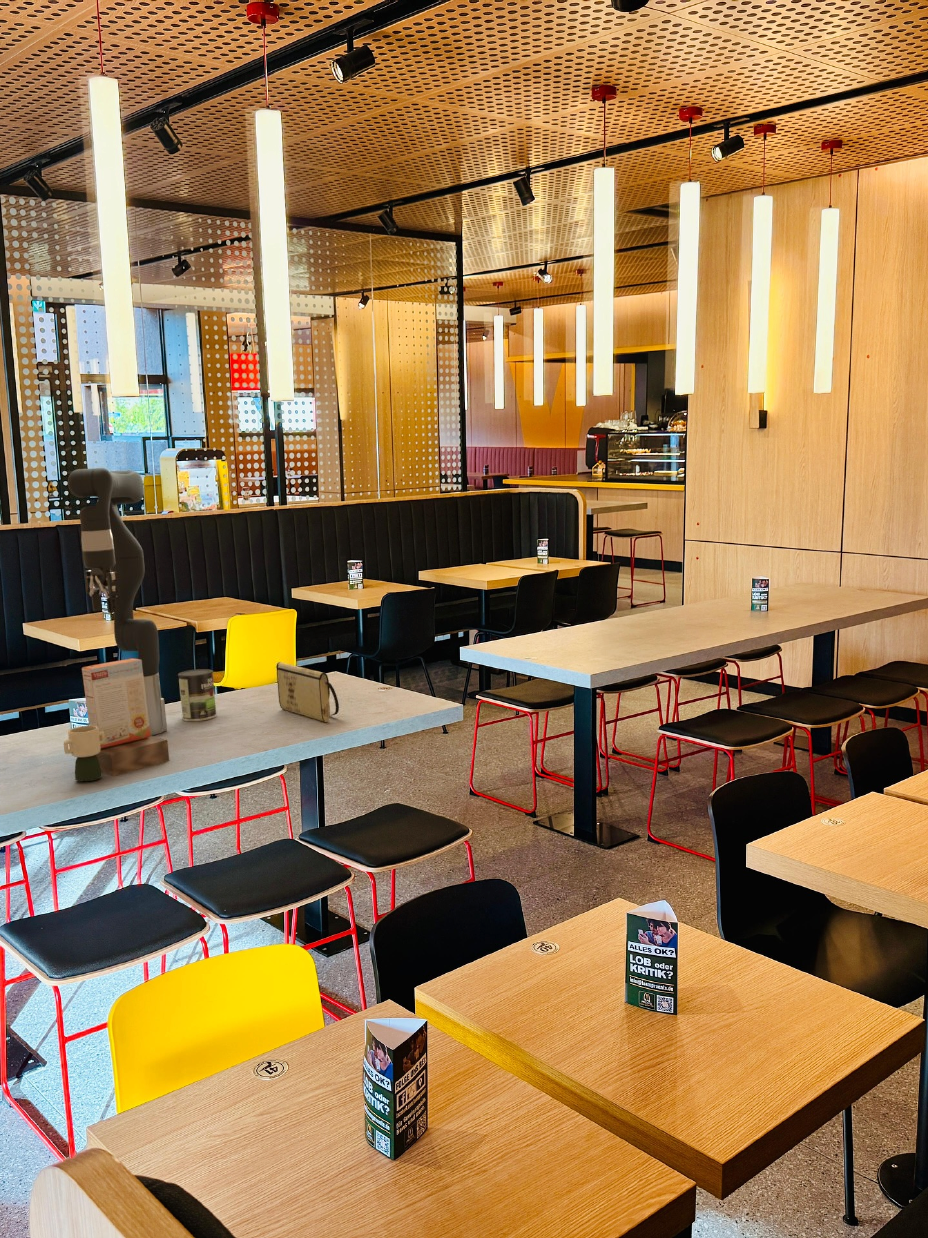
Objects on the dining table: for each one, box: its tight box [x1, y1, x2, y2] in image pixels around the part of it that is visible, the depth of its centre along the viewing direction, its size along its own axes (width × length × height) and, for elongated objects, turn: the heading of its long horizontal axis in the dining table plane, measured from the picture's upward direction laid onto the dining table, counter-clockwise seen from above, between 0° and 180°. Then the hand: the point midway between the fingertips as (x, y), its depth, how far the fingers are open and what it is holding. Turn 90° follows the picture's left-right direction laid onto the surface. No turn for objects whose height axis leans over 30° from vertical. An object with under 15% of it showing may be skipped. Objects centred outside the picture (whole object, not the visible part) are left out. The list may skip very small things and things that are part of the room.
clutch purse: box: [275, 661, 340, 724], centre depth 311 cm, size 30×7×15 cm, turn 39°
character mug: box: [63, 725, 105, 782], centre depth 255 cm, size 11×7×13 cm, turn 141°
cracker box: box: [81, 657, 152, 748], centre depth 267 cm, size 14×6×21 cm, turn 134°
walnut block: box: [96, 735, 170, 777], centre depth 269 cm, size 16×16×6 cm
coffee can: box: [177, 668, 218, 722], centre depth 315 cm, size 10×10×14 cm
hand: (105, 611), depth 264 cm, fingers open, 8 cm apart
